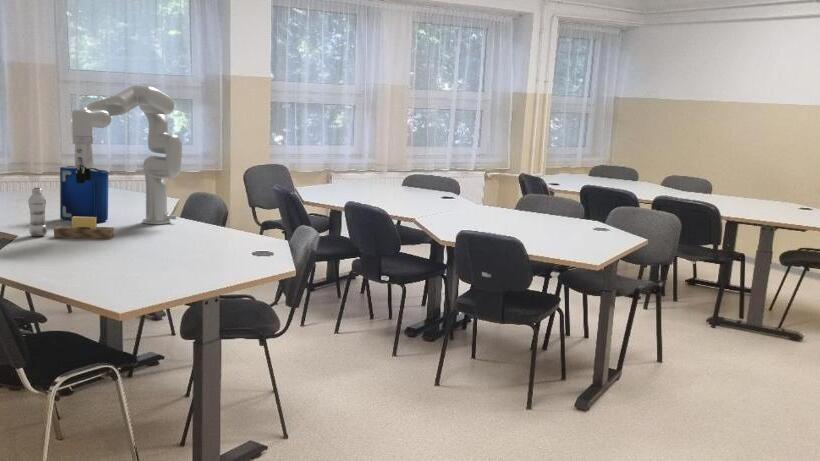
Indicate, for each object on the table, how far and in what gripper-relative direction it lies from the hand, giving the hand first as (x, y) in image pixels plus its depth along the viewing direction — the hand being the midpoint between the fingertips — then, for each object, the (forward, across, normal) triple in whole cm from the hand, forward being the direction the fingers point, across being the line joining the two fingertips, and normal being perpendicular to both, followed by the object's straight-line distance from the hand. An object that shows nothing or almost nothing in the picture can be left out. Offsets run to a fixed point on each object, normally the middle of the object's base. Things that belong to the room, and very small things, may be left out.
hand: (83, 181), depth 298 cm
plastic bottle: (+23, -1, +18) cm, 30 cm away
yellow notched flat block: (+23, -1, 0) cm, 23 cm away
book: (+24, +39, +10) cm, 46 cm away
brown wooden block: (+23, -1, 0) cm, 23 cm away
